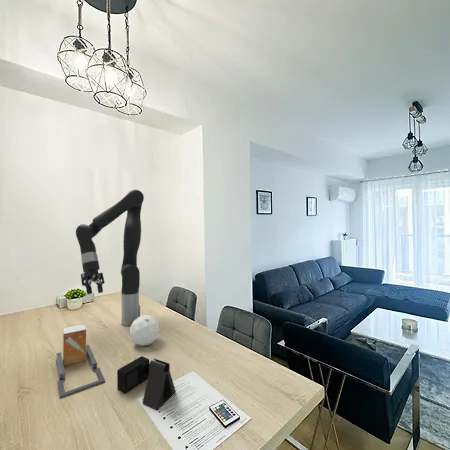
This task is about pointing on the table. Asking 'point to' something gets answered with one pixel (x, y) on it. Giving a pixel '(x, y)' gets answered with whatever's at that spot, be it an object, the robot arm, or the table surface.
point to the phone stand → (158, 384)
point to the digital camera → (132, 374)
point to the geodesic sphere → (144, 330)
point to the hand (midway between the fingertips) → (95, 293)
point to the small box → (74, 344)
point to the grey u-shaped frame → (90, 358)
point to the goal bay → (63, 393)
